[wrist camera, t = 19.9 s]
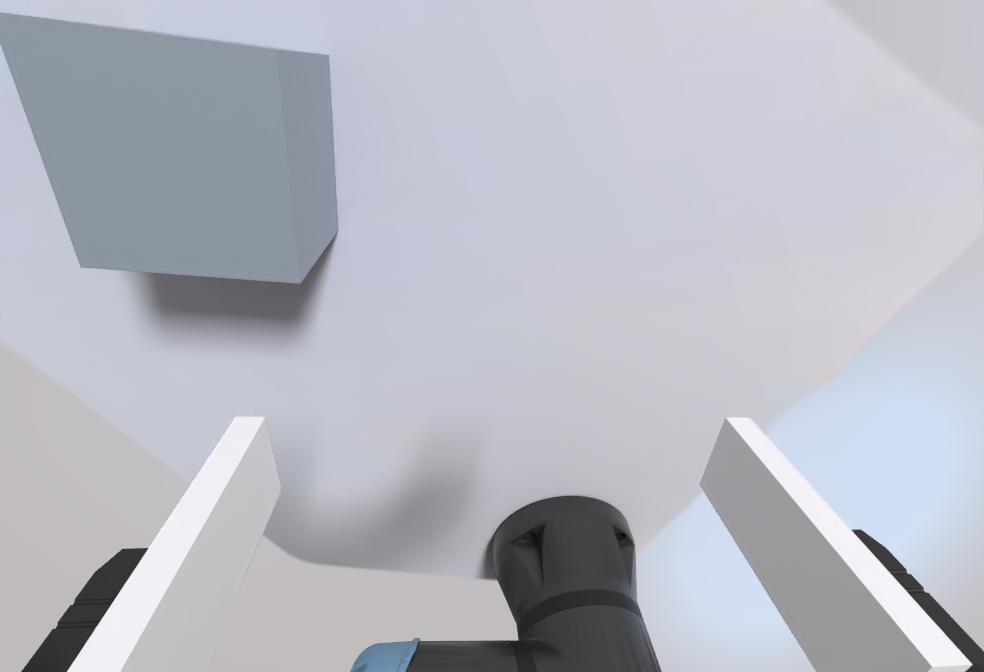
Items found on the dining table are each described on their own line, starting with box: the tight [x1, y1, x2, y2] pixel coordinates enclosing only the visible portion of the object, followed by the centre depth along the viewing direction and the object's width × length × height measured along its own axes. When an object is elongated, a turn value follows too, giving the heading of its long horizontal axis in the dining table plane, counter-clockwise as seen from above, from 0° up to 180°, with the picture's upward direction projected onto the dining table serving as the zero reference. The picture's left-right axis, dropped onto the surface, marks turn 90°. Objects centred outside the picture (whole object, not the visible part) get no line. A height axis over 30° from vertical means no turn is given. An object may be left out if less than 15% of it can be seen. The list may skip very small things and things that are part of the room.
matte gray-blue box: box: [0, 12, 338, 284], centre depth 24 cm, size 10×10×9 cm
